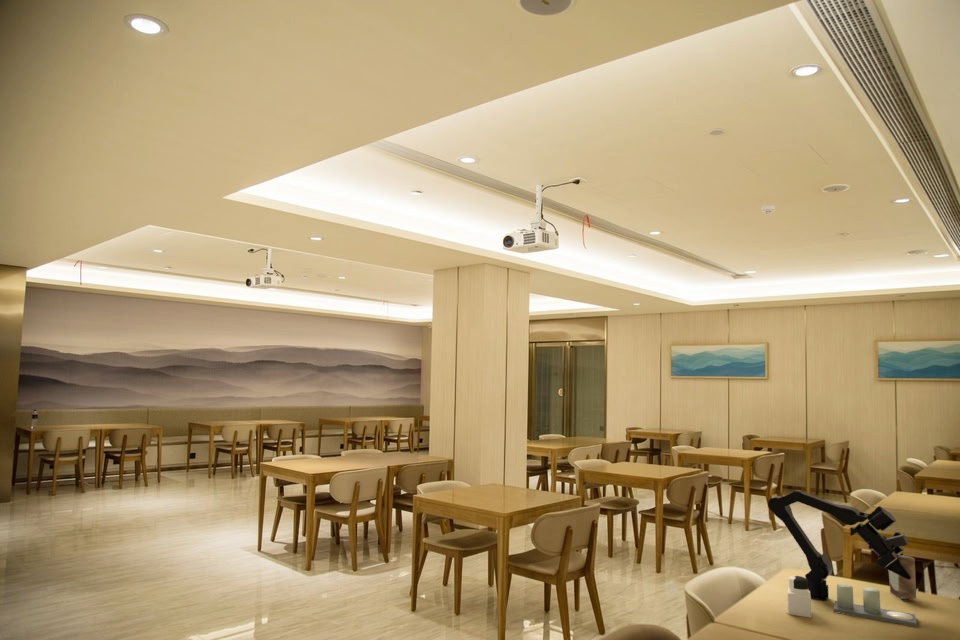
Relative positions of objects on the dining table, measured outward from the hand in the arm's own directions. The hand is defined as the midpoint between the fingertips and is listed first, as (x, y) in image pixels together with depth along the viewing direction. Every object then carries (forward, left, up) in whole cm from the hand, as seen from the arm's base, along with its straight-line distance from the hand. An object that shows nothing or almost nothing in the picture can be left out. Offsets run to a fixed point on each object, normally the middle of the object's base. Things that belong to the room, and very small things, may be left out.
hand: (911, 577), depth 219 cm
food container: (-2, +25, -14) cm, 29 cm away
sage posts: (-16, -5, -12) cm, 21 cm away
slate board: (-12, -5, -13) cm, 18 cm away
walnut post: (-1, 0, -7) cm, 7 cm away
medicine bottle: (-34, -18, -14) cm, 40 cm away
